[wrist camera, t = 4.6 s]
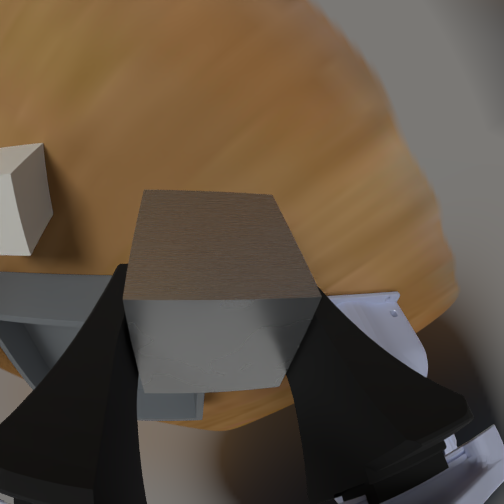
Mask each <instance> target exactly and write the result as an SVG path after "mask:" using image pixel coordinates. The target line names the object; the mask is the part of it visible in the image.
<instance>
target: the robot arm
mask: <svg viewBox="0 0 504 504" xmlns="http://www.w3.org/2000/svg"><path fill="white" fill-rule="evenodd" d="M127 269H128V264H120V265H118V266H117V268H116V270H115V272H114V274H113V276H112V277H111V279H110V281H109V283H108V285H107V286H106V288H105V290H104V292H103V293H102V295H101V297H100V298H99V300H98V302H97V303H96V305H95V307H94V308H93V310H92V312H91V313H90V315H89V316H88V318H87V320H86V321H85V323H84V324H83V326H82V327H81V329H80V330H79V332H78V333H77V335H76V336H75V338H74V339H73V341H72V342H71V343H70V345H69V346H68V348H67V349H66V350H65V352H64V353H63V354H62V356H61V357H60V358H59V360H58V361H57V362H56V364H55V365H54V366H53V367H52V369H51V370H50V371H49V372H48V373H47V375H46V376H45V377H44V378H43V380H42V381H41V382H40V383H39V384H38V386H37V387H36V388H35V389H34V390H33V391H32V392H31V393H30V394H29V395H28V396H27V398H26V399H25V400H24V401H23V402H22V403H21V404H20V405H19V406H18V407H17V409H15V411H13V412H12V413H11V415H10V416H8V417H7V418H6V419H5V420H4V421H3V422H2V423H1V424H0V493H2V494H5V495H8V496H10V497H13V498H14V504H147V502H146V496H145V490H144V484H143V477H142V469H141V460H140V452H139V439H138V424H137V389H138V378H139V371H138V367H137V363H136V359H135V355H134V351H133V347H132V343H131V338H130V334H129V329H128V324H127V320H126V315H125V310H124V304H123V293H124V287H125V281H126V274H127ZM317 287H318V286H317ZM318 289H319V292H320V294H321V296H322V298H321V300H320V302H319V305H318V307H317V309H316V311H315V313H314V316H313V318H312V320H311V322H310V324H309V326H308V329H307V331H306V333H305V335H304V337H303V339H302V341H301V343H300V345H299V348H298V350H297V352H296V354H295V356H294V358H293V360H292V362H291V364H290V366H289V368H288V370H287V372H286V375H287V378H288V381H289V384H290V387H291V391H292V395H293V398H294V403H295V408H296V413H297V418H298V423H299V429H300V435H301V440H302V447H303V455H304V461H305V471H306V480H307V495H308V498H309V502H310V504H317V503H321V502H324V501H328V500H331V499H335V500H336V501H337V503H338V504H484V502H485V501H486V500H487V499H488V498H489V496H490V495H491V494H492V493H493V492H494V491H495V490H496V488H498V487H499V485H500V484H501V483H502V482H503V481H504V445H503V442H502V441H501V438H500V436H499V433H498V431H497V429H496V427H495V425H492V426H490V427H489V428H487V429H486V430H485V431H483V432H482V433H480V434H479V435H477V436H476V437H474V438H473V439H471V440H470V441H468V442H467V443H465V444H463V445H461V446H460V447H458V448H457V445H456V443H457V441H456V438H455V436H454V433H456V432H457V431H459V430H460V429H462V428H463V427H464V426H466V425H467V424H468V423H470V422H471V421H472V420H473V414H472V412H471V410H470V408H469V406H468V404H467V402H466V400H465V398H464V396H463V395H461V394H458V393H456V392H454V391H452V390H450V389H448V388H446V387H443V386H441V385H439V384H437V383H435V382H434V381H432V380H430V379H428V378H426V377H427V372H428V362H427V356H426V353H425V350H424V348H423V346H422V344H421V342H420V341H419V339H418V337H417V336H416V333H415V332H414V330H413V328H412V327H411V325H410V323H409V322H408V320H407V318H406V317H405V315H404V313H403V312H402V310H401V309H400V307H399V305H398V304H397V300H398V299H399V297H400V294H399V293H398V292H383V293H369V294H354V295H337V296H326V295H325V294H324V293H323V292H322V291H321V290H320V288H319V287H318ZM0 504H9V503H6V502H4V501H3V500H1V499H0Z"/></svg>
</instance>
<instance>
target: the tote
mask: <svg viewBox="0 0 504 504" xmlns="http://www.w3.org/2000/svg"><path fill="white" fill-rule="evenodd" d="M111 277H112V276H110V275H71V274H42V273H17V272H0V346H1V348H2V349H3V351H4V352H5V354H6V355H7V357H8V358H9V359H10V361H11V362H12V364H13V365H14V366H15V368H16V369H17V370H18V372H19V373H20V374H21V376H22V377H23V378H24V379H25V381H26V382H27V383H28V384H29V386H30V387H31V388H32V389H33V390H34V389H35V388H36V387H37V386H38V384H39V383H40V382H41V381H42V380H43V378H44V377H45V376H46V375H47V373H48V372H49V371H50V370H51V369H52V367H53V366H54V365H55V364H56V362H57V361H58V360H59V358H60V357H61V356H62V354H63V353H64V352H65V350H66V349H67V348H68V346H69V345H70V343H71V342H72V341H73V339H74V338H75V336H76V335H77V333H78V332H79V330H80V329H81V327H82V326H83V324H84V323H85V321H86V320H87V318H88V316H89V315H90V313H91V312H92V310H93V308H94V307H95V305H96V303H97V302H98V300H99V298H100V297H101V295H102V293H103V292H104V290H105V288H106V286H107V285H108V283H109V281H110V279H111ZM203 404H204V393H144V389H143V386H142V382H141V378H140V375H139V378H138V389H137V420H145V421H146V420H147V421H148V420H149V421H182V420H202V416H203Z"/></svg>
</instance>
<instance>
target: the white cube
mask: <svg viewBox="0 0 504 504" xmlns="http://www.w3.org/2000/svg"><path fill="white" fill-rule="evenodd" d="M52 216H53V210H52V204H51V199H50V193H49V186H48V180H47V173H46V165H45V157H44V147H43V143H37V144H28V145H19V146H11V147H4V148H0V255H24V256H31V254H32V252H33V250H34V248H35V246H36V244H37V243H38V241H39V239H40V237H41V235H42V233H43V232H44V230H45V228H46V226H47V224H48V223H49V221H50V219H51V217H52Z"/></svg>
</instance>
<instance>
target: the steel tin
mask: <svg viewBox="0 0 504 504" xmlns="http://www.w3.org/2000/svg"><path fill="white" fill-rule="evenodd" d="M321 298H322V296H321V294H320V292H319V289H318V287H317V285H316V283H315V281H314V279H313V277H312V274H311V272H310V270H309V268H308V266H307V264H306V262H305V260H304V258H303V256H302V254H301V251H300V249H299V247H298V245H297V243H296V241H295V239H294V237H293V235H292V233H291V231H290V229H289V227H288V225H287V223H286V221H285V219H284V217H283V215H282V213H281V211H280V209H279V207H278V205H277V203H276V201H275V199H274V197H273V195H267V194H251V193H233V192H212V191H184V190H144V192H143V196H142V200H141V205H140V209H139V213H138V218H137V222H136V227H135V232H134V237H133V242H132V247H131V252H130V257H129V263H128V269H127V274H126V281H125V287H124V293H123V304H124V310H125V315H126V320H127V324H128V329H129V334H130V338H131V343H132V347H133V351H134V355H135V359H136V363H137V367H138V371H139V375H140V378H141V382H142V386H143V389H144V393H206V392H225V391H239V390H251V389H261V388H271V387H279V386H280V384H281V382H282V380H283V378H284V376H285V374H286V372H287V370H288V368H289V366H290V364H291V362H292V360H293V358H294V356H295V354H296V352H297V350H298V348H299V345H300V343H301V341H302V339H303V337H304V335H305V333H306V331H307V329H308V326H309V324H310V322H311V320H312V318H313V316H314V313H315V311H316V309H317V307H318V305H319V302H320V300H321Z"/></svg>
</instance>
